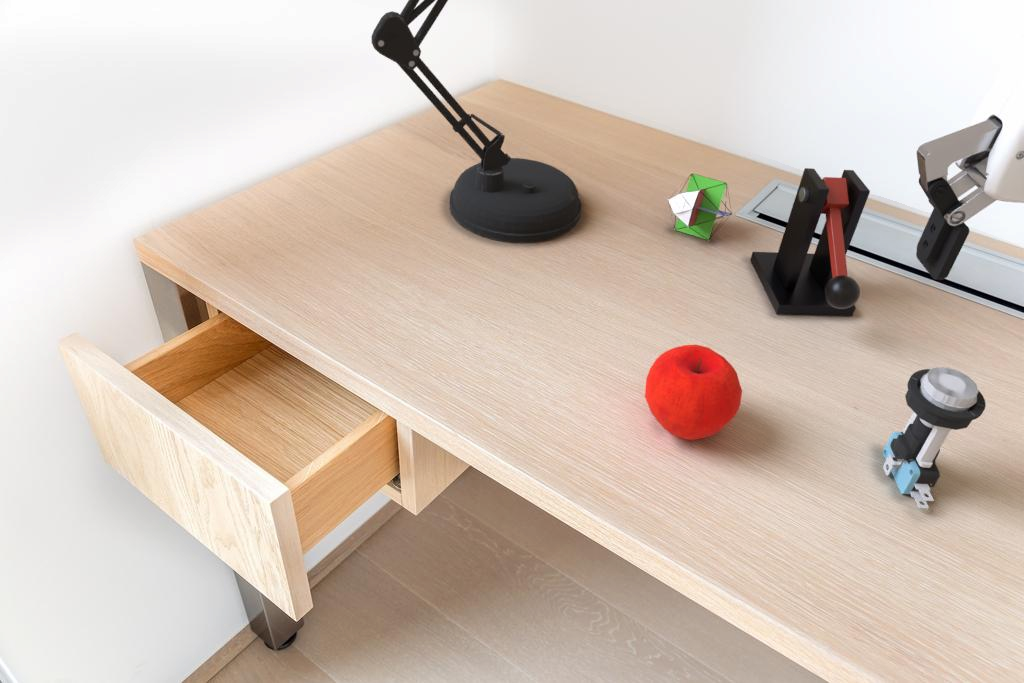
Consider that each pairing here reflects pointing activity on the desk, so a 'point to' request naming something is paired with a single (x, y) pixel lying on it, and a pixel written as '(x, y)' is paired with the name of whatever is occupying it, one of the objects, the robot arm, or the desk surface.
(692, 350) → the apple
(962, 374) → the push button
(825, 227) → the bracket
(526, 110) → the desk surface
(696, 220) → the geometric puzzle
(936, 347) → the desk surface
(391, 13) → the desk lamp
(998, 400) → the desk surface
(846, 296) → the lever
